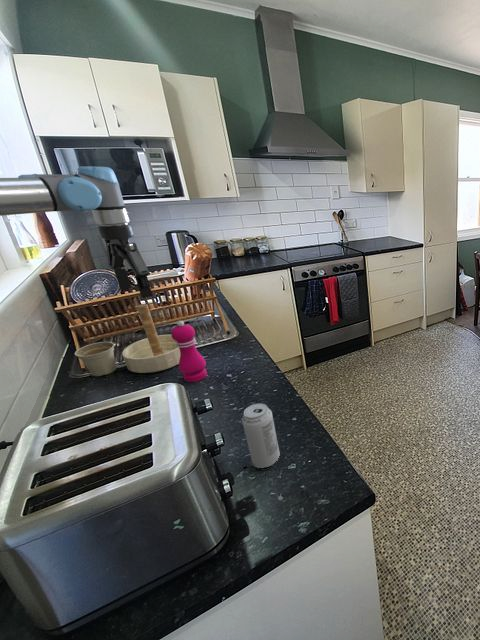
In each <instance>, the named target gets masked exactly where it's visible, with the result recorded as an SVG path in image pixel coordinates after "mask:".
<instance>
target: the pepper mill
mask: <svg viewBox="0 0 480 640" xmlns="http://www.w3.org/2000/svg"><path fill="white" fill-rule="evenodd" d="M170 334H171V336H172V338H173V339H174V340H175V341H176V344H177V347H179V349H180V360H179V364H178V369H179V371H180V372H181V373H182V374H183V379H184V381H185V382H188V383H195V382H199V381H202V380H203V379H205V378H206V377H207V376H208V372H207V369H206V366H207V362H206V359H205V357H204V356H203V355H202V354H201V353H200V352H199V351H198V349H197V346H196V343H197V341H196V338H195V336H196V330H195V328H194V327H193V326H191V325H189V324H185V322H184V321H183V320H178V321H177V322H176V326H175V327H173V328H172V329H171V333H170Z"/></svg>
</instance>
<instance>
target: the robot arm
mask: <svg viewBox="0 0 480 640" xmlns="http://www.w3.org/2000/svg"><path fill="white" fill-rule="evenodd" d="M67 211H68V212H69V211H78V212H88V211H91V214H92V215H93V219H94V222H95V224H97V225H98V226H97V229H98V232H99V236H100V238H101V239H103V240H104V243H105V248H106V255H107V263H108V266H109V267H111V268H112V270H113V272H114V276H115V278H116V280H117V283H118V286H119V289H120V291H123V290H128V289H132V284H131V281H130V278H129V275H128V273H127V270H126V265H125V264H124V262H125V261H126V263H127V264H128V266H129V267H130V269H131V270H132V272H133V273H134V276H133V279H135V281H136V284H137V288H138V291H139V294H140V296H141V299H145V298H149V297H153V291H152V287H151V285H150V282H149V278H148V276H150V275H151V272H150V270H149V269H148V266H147V264H146V262H145V261H144V259H143V257H142V255H141V253H140V250H139V249H138V246H137V244H136V243H135V242H130V240H129V239H130V238H133V237H134V236H135V233H134V230H133V226H132V224H130V218H129V214H130V212H129V211H127V208H126V204H125V201H124V198H123V195H122V191H121V188H120V183H119V181H118V179H117V176H116V174H115V171H114V170H113V169H112V168H111V167H109V166H90V165H89V166H79V167H77V173H74V174H54V173H53V174H52V173H51V174H49V173H47V174H45V173H44V174H43V173H32V174H20V175H18V176H17V177H0V217H1V216H2V217H3V216H4V217H5V216H12V215H14V216H16V215H26V214H38V213H39V214H40V213H53V212H67ZM124 260H125V261H124Z"/></svg>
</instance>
